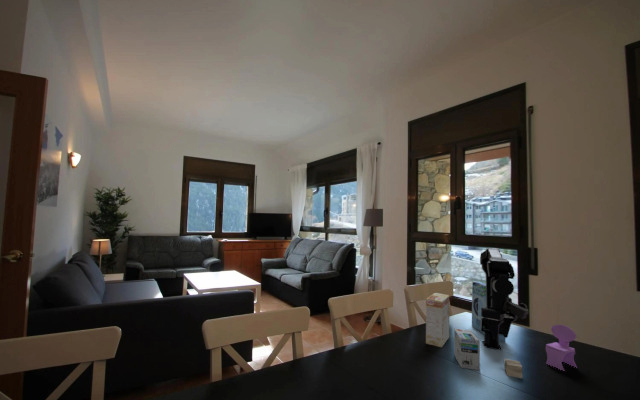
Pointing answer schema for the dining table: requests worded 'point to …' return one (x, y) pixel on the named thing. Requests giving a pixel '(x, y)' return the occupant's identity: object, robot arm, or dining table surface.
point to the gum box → (479, 305)
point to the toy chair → (561, 347)
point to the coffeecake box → (437, 319)
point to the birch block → (513, 368)
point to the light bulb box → (467, 349)
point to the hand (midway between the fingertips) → (500, 338)
